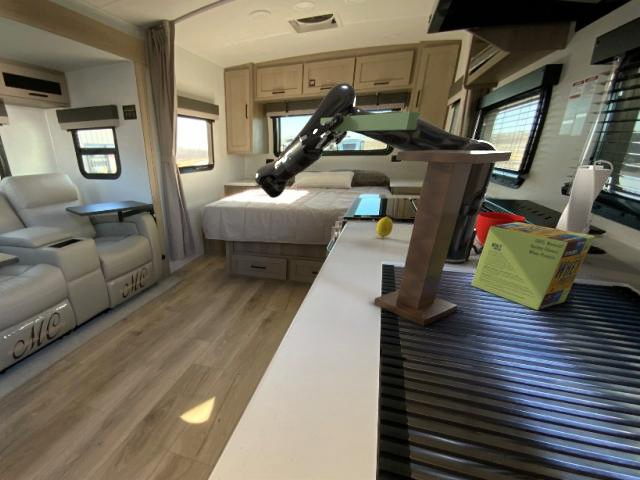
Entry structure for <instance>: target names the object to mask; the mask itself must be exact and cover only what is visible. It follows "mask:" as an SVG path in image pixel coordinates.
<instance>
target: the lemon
mask: <svg viewBox="0 0 640 480" xmlns="http://www.w3.org/2000/svg"><path fill="white" fill-rule="evenodd" d="M393 226H394V225H393V220H392V219H391V218H390V217H388V216H385V217H382V218H380V219H379V220H378V222H377V224H376V228H375V229H376V233H377V235H378V236H380V237H381V239H384V238H385V237H387V236H389V235H390V234H391V233H392V231H393V228H394V227H393Z"/></svg>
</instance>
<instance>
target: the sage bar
mask: <svg viewBox="0 0 640 480" xmlns="http://www.w3.org/2000/svg"><path fill="white" fill-rule="evenodd" d="M419 115H420V112H419V111H401V113H387V114H373V115H359V116H344V117H343V122H342V123H341V124H340V125H339V126H338V127H336V128H335V129H334V130H333V131H331V132H337V131H347V132H351V131H376V130H415V129H416V126H417V121H418V117H419ZM332 118H333V117H330V118H321V125H323V124H324V123H325V122H329V121H330V120H331V119H332Z"/></svg>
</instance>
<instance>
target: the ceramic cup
mask: <svg viewBox="0 0 640 480" xmlns="http://www.w3.org/2000/svg"><path fill="white" fill-rule="evenodd" d="M517 222H520V223H525V222H526V217H524V216H522V215H518V214H514V213H506V212H493V211H492V212H491V211H488V212H479V216H478V219H477V222H476V226H475V230H477V234H476V238H477V240H478V241H479V243H480V245H481V246H484V245H485V242H486V239H487V236H488V233H489V230H490V227H491V226H494V225H502V224H509V223H517Z"/></svg>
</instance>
